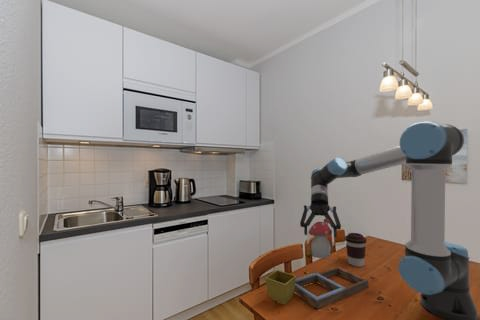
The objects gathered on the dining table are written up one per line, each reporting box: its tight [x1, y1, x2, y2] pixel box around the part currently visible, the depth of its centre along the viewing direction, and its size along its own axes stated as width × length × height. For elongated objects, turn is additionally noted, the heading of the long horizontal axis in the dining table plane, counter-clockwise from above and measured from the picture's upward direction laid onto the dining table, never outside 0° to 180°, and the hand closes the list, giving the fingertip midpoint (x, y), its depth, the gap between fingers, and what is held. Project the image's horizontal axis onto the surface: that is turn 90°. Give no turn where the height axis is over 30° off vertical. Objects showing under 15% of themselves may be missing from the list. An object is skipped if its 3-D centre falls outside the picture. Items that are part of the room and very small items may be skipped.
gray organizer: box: [294, 266, 369, 309], centre depth 98 cm, size 15×29×3 cm, turn 118°
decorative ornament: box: [309, 218, 332, 259], centre depth 98 cm, size 9×6×15 cm
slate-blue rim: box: [295, 272, 346, 301], centre depth 95 cm, size 15×15×1 cm
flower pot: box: [265, 269, 297, 306], centre depth 91 cm, size 9×9×9 cm
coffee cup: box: [344, 232, 367, 268], centre depth 122 cm, size 10×10×15 cm
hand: (320, 242), depth 95 cm, fingers closed on decorative ornament, 9 cm apart
